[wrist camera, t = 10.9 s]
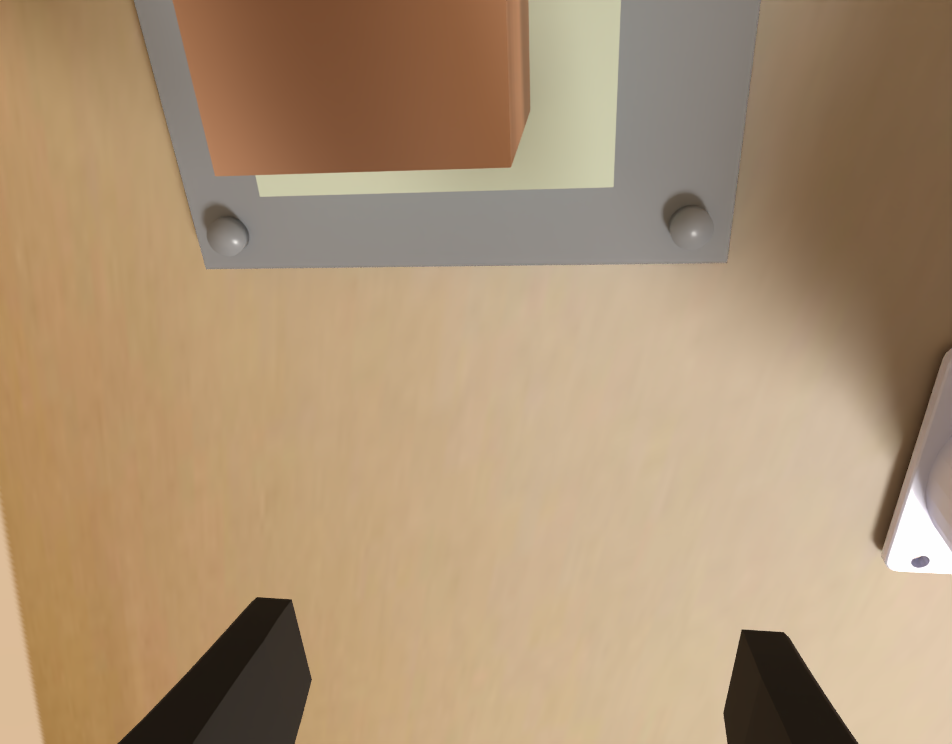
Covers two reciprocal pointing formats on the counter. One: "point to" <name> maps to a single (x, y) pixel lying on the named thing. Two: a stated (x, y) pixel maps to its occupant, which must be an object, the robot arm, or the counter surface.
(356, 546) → the counter surface
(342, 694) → the counter surface
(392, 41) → the rust block
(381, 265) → the baseplate
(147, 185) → the counter surface
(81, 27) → the counter surface
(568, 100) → the sage brick
